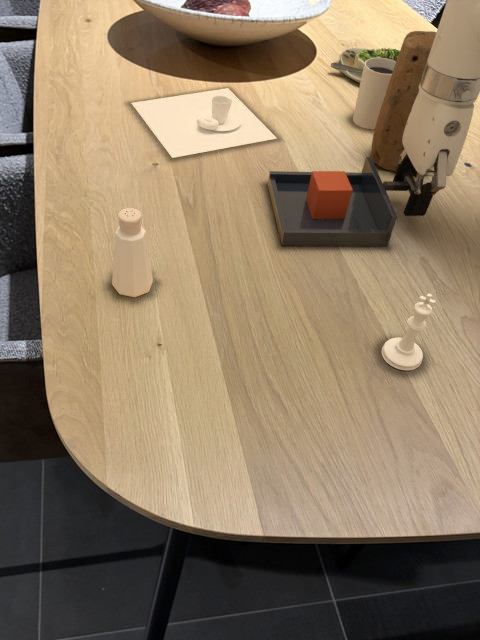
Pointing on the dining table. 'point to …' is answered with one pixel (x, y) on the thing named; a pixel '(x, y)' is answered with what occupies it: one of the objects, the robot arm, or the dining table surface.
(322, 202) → the terracotta block
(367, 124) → the white cup
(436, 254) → the dining table surface
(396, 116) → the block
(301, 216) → the tipping dish
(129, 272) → the pepper shaker
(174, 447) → the dining table surface
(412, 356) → the chess piece
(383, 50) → the salad plate
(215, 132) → the teacup and saucer
